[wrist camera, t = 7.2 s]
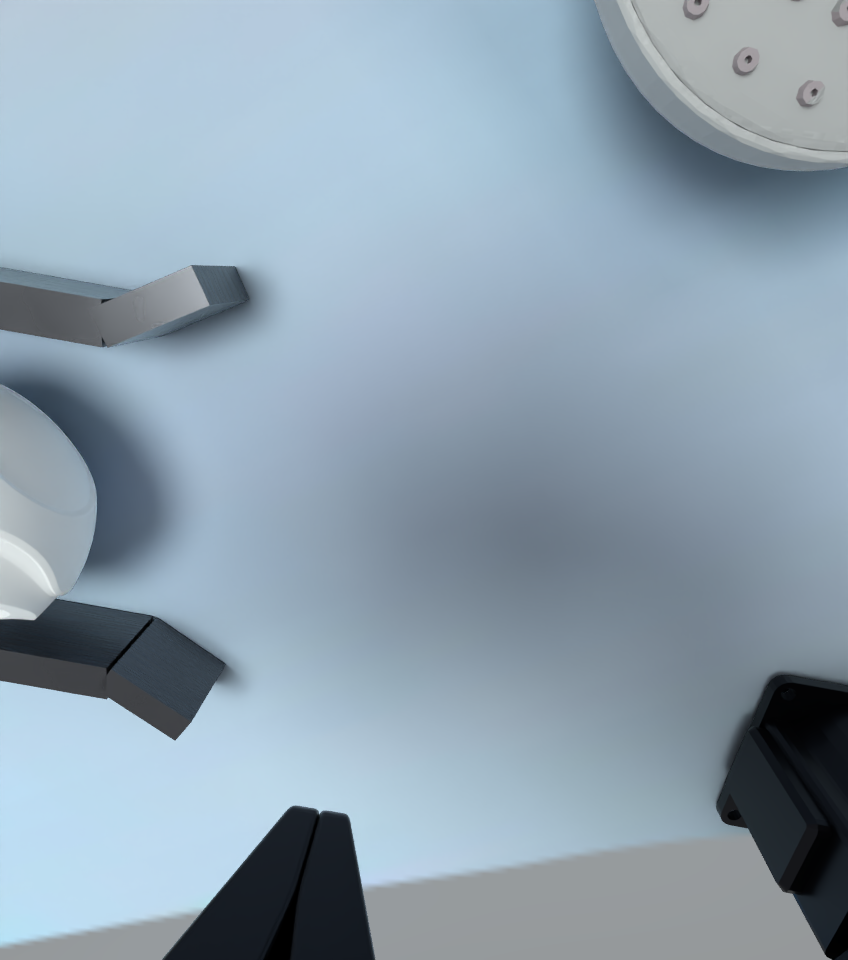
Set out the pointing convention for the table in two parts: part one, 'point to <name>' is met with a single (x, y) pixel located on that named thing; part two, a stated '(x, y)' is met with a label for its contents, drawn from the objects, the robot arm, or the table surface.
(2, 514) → the white folded round lump
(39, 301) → the bracket
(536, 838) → the table surface
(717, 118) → the showerhead
